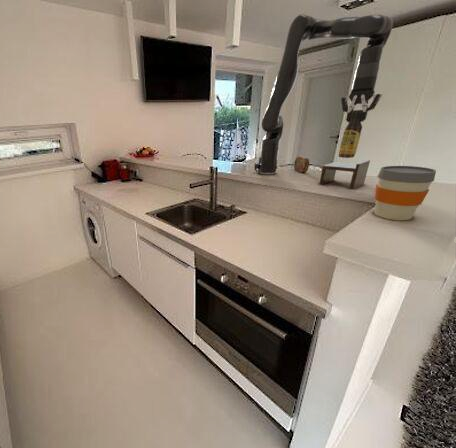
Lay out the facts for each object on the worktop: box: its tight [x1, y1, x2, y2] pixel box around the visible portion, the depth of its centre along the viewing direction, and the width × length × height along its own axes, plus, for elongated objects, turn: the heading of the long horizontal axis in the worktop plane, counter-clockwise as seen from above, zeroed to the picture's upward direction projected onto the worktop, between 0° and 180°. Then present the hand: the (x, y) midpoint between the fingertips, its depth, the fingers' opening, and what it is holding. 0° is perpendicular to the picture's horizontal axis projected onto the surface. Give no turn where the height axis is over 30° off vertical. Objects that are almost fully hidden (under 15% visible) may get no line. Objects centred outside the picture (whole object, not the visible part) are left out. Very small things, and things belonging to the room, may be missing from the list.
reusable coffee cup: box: [374, 165, 437, 221], centre depth 77 cm, size 12×13×15 cm
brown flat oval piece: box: [293, 155, 310, 173], centre depth 147 cm, size 15×3×8 cm, turn 172°
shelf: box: [318, 159, 371, 190], centre depth 115 cm, size 14×12×11 cm
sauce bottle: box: [338, 109, 363, 159], centre depth 109 cm, size 6×6×20 cm
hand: (355, 121), depth 107 cm, fingers closed on sauce bottle, 4 cm apart
